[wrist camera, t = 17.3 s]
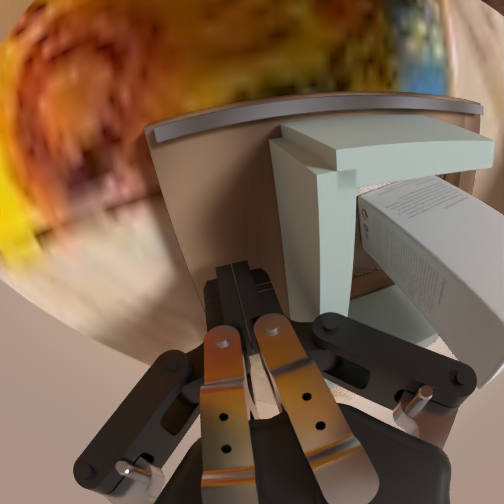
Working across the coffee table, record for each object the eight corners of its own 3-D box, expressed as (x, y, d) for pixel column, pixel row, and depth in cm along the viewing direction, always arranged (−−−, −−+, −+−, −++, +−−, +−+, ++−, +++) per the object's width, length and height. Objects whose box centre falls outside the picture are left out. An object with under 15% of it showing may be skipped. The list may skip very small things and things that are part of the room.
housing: (421, 114, 11) (495, 141, 7) (399, 294, 19) (435, 341, 14) (266, 125, 11) (314, 153, 7) (291, 330, 18) (315, 393, 14)
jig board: (464, 99, 12) (486, 105, 11) (440, 269, 21) (453, 282, 19) (148, 123, 11) (140, 129, 9) (220, 339, 20) (223, 362, 18)
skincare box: (360, 250, 18) (472, 399, 8) (353, 190, 15) (514, 348, 5) (427, 219, 17) (541, 331, 8) (427, 164, 15) (575, 269, 5)
